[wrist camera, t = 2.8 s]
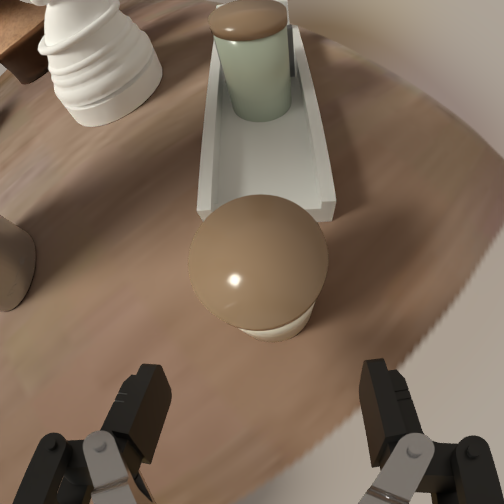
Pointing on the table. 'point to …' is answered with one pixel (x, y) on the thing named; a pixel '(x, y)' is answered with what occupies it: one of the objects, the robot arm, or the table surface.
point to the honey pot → (97, 59)
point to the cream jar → (259, 265)
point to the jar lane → (266, 147)
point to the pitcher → (22, 39)
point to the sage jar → (254, 57)
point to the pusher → (290, 47)
